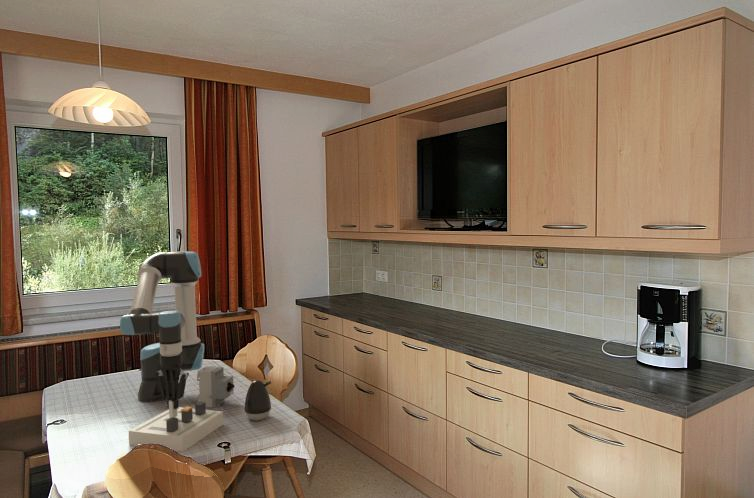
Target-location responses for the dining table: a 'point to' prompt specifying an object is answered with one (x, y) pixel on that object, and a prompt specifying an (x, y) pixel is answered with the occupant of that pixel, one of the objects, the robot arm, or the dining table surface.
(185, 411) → the block
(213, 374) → the circuit breaker
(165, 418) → the breaker panel
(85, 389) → the dining table surface
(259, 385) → the pump dispenser
